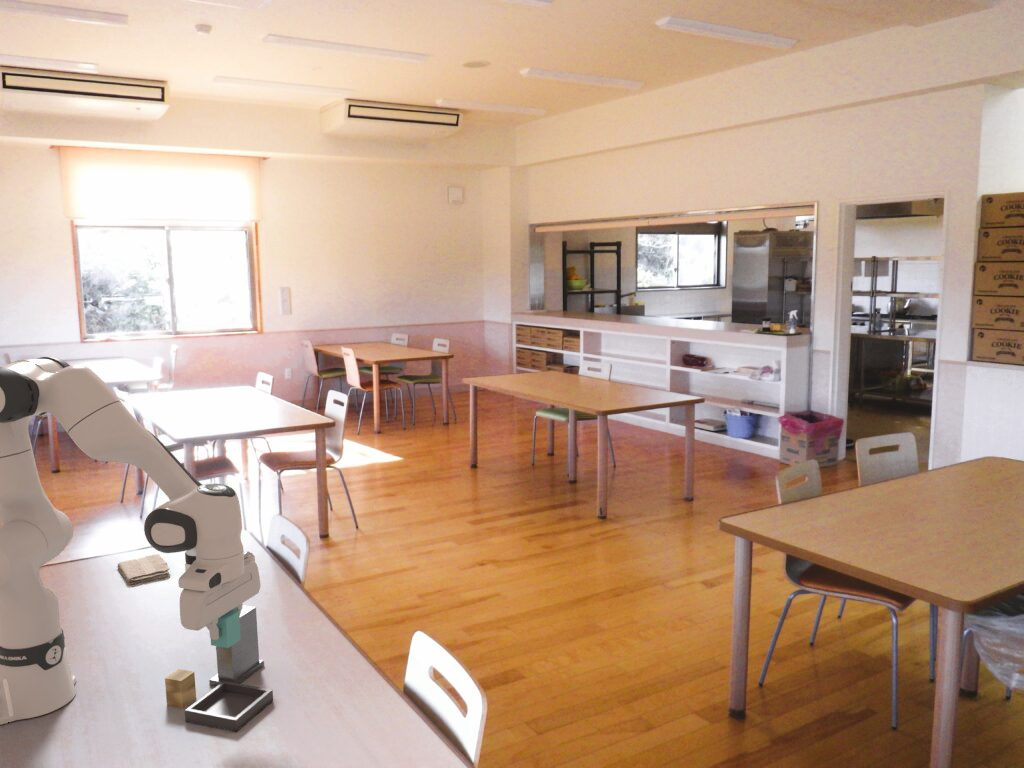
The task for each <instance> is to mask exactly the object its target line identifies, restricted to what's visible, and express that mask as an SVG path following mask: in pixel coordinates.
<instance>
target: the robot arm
mask: <svg viewBox="0 0 1024 768" xmlns="http://www.w3.org/2000/svg"><path fill="white" fill-rule="evenodd" d="M45 414H50V415H52V416H53V417H55V418H56V420H57V421H58V423H60V424H61V426H62V428H63V429H64V430H65V432H66V434H67V435H68V436H69V438H71V440H72V441H73V443H74V444H75V445H76V446H77V447H78V449H79V450H81V451H82V452H83V453H84V454H86V456H88V457H89V458H91V459H93V460H96V461H100V462H107V463H109V462H110V463H122V464H123V463H124V464H127V465H132V466H135V467H136V468H139V469H140V470H142V471H143V472H144V473H146V475H147V476H148V477H149V478H150V479H151V480H152V482H154V483H155V484H156V486H157V487H158V488H159V489H160V490H161V491H162V492H163V494H165V496H167V498H168V499H169V500H168V501H166V502H164V503H162V504H161V505H159V506H157V507H156V508H155V509H154V510H152V511H151V512H150V513H148V514H147V516H146V518H145V520H144V525H143V531H144V532H143V533H144V536H145V538H146V541H147V542H148V544H149V545H150V546H151V547H152V548H153V549H155V551H157V552H160V553H163V554H173V553H174V554H175V553H181V552H186V551H187V550H190V549H193V550H195V552H196V560H195V561H194V562H193V563H192V565H191V566H190V567H189V568H188V569H187V571H185V572H183V573H182V575H181V576H180V577H179V578H178V581H177V582H178V587H179V588H180V589H182V591H181V593H180V595H179V616H180V624H181V626H182V627H184V629H186V630H190V631H197V632H198V631H201V630H202V629H203V628H207V630H208V631H209V638H210V640H211V639H213V640H217V639H219V638H220V637H221V636H222V629H221V628H218V627H217V625H216V624H217V623H218V618H220V617H221V616H223V615H224V614H226V613H227V612H229V611H231V610H235V611H239V617H240V614H241V611H242V608H243V605H244V604H243V603H245V602H246V601H248V600H250V599H251V598H254V597H255V596H256V595H258V594H259V592H260V589H261V578H260V577H261V576H260V572H259V567H258V564H257V562H256V556H255V554H253V553H252V552H250V551H245V552H244V544H243V543H242V539H241V536H242V530H243V522H242V521H243V520H242V512H241V505H240V500H239V497H238V494H237V492H236V491H235V489H234V488H232V487H230V486H229V485H227V484H222V483H205V484H202V482H199V481H198V480H197V479H196V478H195V477H194V476H193V475H192V474H191V473H190V472H189V471H188V470H187V468H185V466H184V465H183V464H182V463H181V462H180V461H179V460H178V459H177V458H176V456H175V455H174V454H173V453H172V452H171V451H170V450H169V448H168V447H167V446H166V445H164V443H163V442H162V441H161V440H160V439H159V438H158V437H157V436H155V435H154V434H153V433H152V432H151V431H150V430H148V429H147V428H146V427H145V426H143V425H142V424H141V423H140V422H139V421H138V420H137V419H136V418H135V417H134V416H133V415H132V414H131V412H130V411H129V410H128V409H127V408H126V406H125V405H124V404H123V402H122V401H121V400H120V399H119V397H118V396H117V395H116V394H115V392H114V391H113V390H112V389H111V388H110V386H108V385H107V383H106V382H105V381H104V380H102V378H101V377H100V376H99V375H98V374H96V373H95V372H94V371H93V370H91V369H90V368H89V367H87V366H84V365H81V364H80V365H78V364H77V365H71V364H69V362H67V361H65V360H62V359H59V358H57V357H51V356H42V357H37V358H26V359H20V360H16V361H13V362H10V363H7V364H3V365H0V725H5V724H8V722H9V723H12V722H14V721H18V720H25V719H31V718H36V717H40V716H43V715H46V714H49V713H52V712H54V711H56V710H58V709H61V708H62V707H64V706H66V705H68V704H69V702H71V701H72V700H73V699H74V697H75V696H76V695H77V690H76V687H75V684H76V682H77V677H76V676H75V675H74V674H73V673H72V668H71V665H70V664H71V663H70V659H69V655H68V651H67V649H66V645H65V644H66V643H65V640H66V637H65V633H64V630H63V628H61V620H60V619H61V618H60V608H59V599H58V596H57V594H56V593H55V591H53V590H51V589H49V588H47V587H46V586H45V585H44V583H43V580H42V577H41V573H40V572H41V568H42V567H43V566H44V565H46V564H48V563H49V562H50V561H52V560H54V559H55V558H57V557H58V556H60V554H61V553H63V551H64V550H65V549H66V548H67V547H68V546H69V544H70V542H72V539H73V538H74V537H73V536H74V527H73V523H72V520H71V519H70V518H69V516H68V515H67V514H66V513H64V512H63V511H61V510H59V509H57V508H56V507H55V506H54V505H53V503H52V502H51V501H50V498H49V497H48V495H47V494H46V491H45V489H44V487H43V486H42V484H41V480H40V475H39V471H38V467H37V464H36V463H37V462H36V458H35V455H34V451H33V445H32V441H31V437H30V434H29V433H30V432H29V425H30V422H31V420H32V418H34V417H36V416H43V415H45Z"/></svg>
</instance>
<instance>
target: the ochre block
mask: <svg viewBox="0 0 1024 768" xmlns="http://www.w3.org/2000/svg"><path fill="white" fill-rule="evenodd" d="M195 675H196V674H195V671H192V670H191V671H190V670H186V669H178V668H177V669H176V670H175V671H174V672H172V673H171V674H168V676H166V677H165V678H164V683H165V685H164V686H165V695H166V696H165V697H166V705H167V707H168V706H170V707H172V706H173V708H178V709H179V708H180V709H184V708H186V707H187V706H188V705H190V704H191V703H192V701H193V700H194V701H196V700H197V691H196V690H197V689H196V677H195ZM194 701H193V702H194ZM190 702H191V703H190ZM189 703H190V704H189ZM185 706H186V707H185Z"/></svg>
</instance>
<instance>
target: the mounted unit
mask: <svg viewBox="0 0 1024 768" xmlns="http://www.w3.org/2000/svg"><path fill="white" fill-rule="evenodd" d="M242 605H243V608H242V611H241V614H240V617H239V619H240V635H241V639H240V640H239V641H238V642H236V643H235V644H233V645H232V646H230V647H229V648H224V647H218V646H215V651H216V666H217V667H216V668H217V673H216V674H215V675H214V676H212V677H211V678H209V681H208V682H209V685H210V686H214V687H216V686H218V685H219V684H221V683H222V682H223V681H227V682H232V683H238V684H243V682H244V681H246V680H247V679H249V678H250V677H251V676H252V675H254V674H255V673H256V672H258V671H259V670H260V669H261V668H262V666H263V665H264V666H265V660H264V659H260V653H259V651H260V650H259V636H258V618H257V607H256V606H251V605H244V604H242ZM264 666H263V667H264ZM258 669H259V670H258ZM254 672H255V673H254ZM253 673H254V674H253ZM249 676H250V677H249Z"/></svg>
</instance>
